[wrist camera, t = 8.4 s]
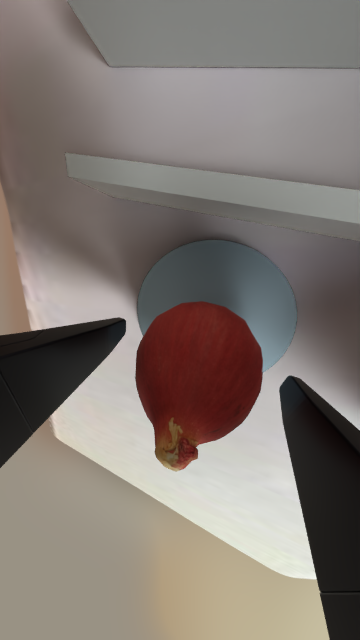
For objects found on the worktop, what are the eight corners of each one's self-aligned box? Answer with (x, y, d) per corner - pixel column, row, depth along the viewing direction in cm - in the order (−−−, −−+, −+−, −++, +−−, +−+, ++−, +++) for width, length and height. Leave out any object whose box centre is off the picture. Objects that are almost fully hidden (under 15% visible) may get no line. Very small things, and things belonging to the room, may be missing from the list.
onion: (233, 366, 12) (241, 544, 5) (164, 345, 13) (88, 466, 6) (265, 297, 9) (401, 489, 2) (173, 276, 10) (43, 352, 3)
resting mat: (338, 264, 8) (344, 264, 7) (250, 396, 13) (251, 401, 12) (146, 224, 10) (142, 222, 9) (137, 353, 15) (134, 357, 14)
